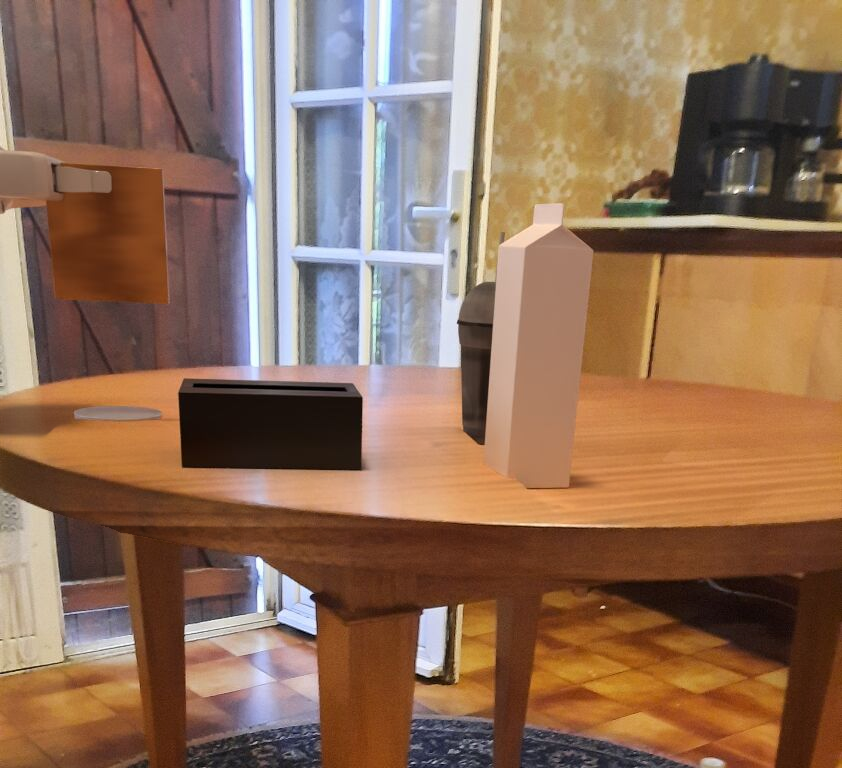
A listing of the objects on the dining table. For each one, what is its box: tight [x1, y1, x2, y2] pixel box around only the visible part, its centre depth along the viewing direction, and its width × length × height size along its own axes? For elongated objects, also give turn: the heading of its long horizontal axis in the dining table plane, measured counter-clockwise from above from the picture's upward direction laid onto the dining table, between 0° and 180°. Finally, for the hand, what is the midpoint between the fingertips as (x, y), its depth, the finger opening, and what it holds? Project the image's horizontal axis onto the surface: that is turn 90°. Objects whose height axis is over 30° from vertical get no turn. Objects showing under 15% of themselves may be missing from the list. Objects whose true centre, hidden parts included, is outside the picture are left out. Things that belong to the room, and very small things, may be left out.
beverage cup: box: [456, 231, 506, 446], centre depth 109 cm, size 7×7×20 cm
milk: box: [482, 202, 594, 489], centre depth 90 cm, size 6×6×22 cm
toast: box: [45, 161, 171, 305], centre depth 104 cm, size 11×2×12 cm, turn 98°
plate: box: [73, 405, 164, 422], centre depth 112 cm, size 9×9×1 cm
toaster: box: [177, 377, 364, 472], centre depth 93 cm, size 15×9×7 cm, turn 98°
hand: (113, 183), depth 103 cm, fingers closed on toast, 1 cm apart
